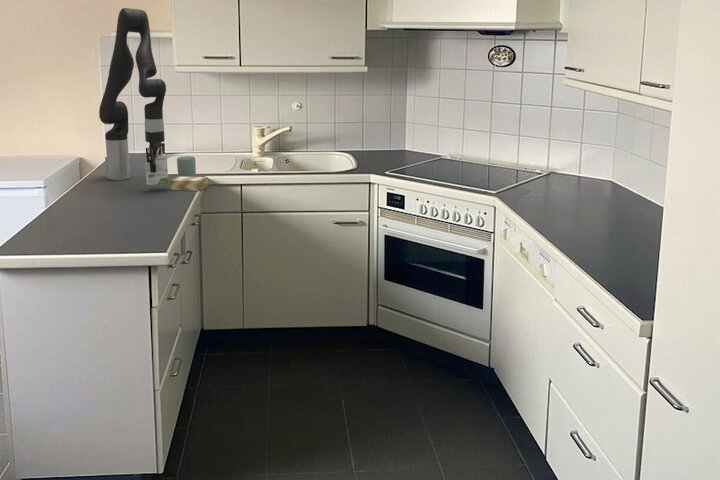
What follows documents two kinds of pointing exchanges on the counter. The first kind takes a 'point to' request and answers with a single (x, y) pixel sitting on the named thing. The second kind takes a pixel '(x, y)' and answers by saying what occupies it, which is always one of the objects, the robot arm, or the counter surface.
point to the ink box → (157, 171)
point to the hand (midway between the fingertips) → (156, 170)
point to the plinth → (189, 183)
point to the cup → (186, 166)
